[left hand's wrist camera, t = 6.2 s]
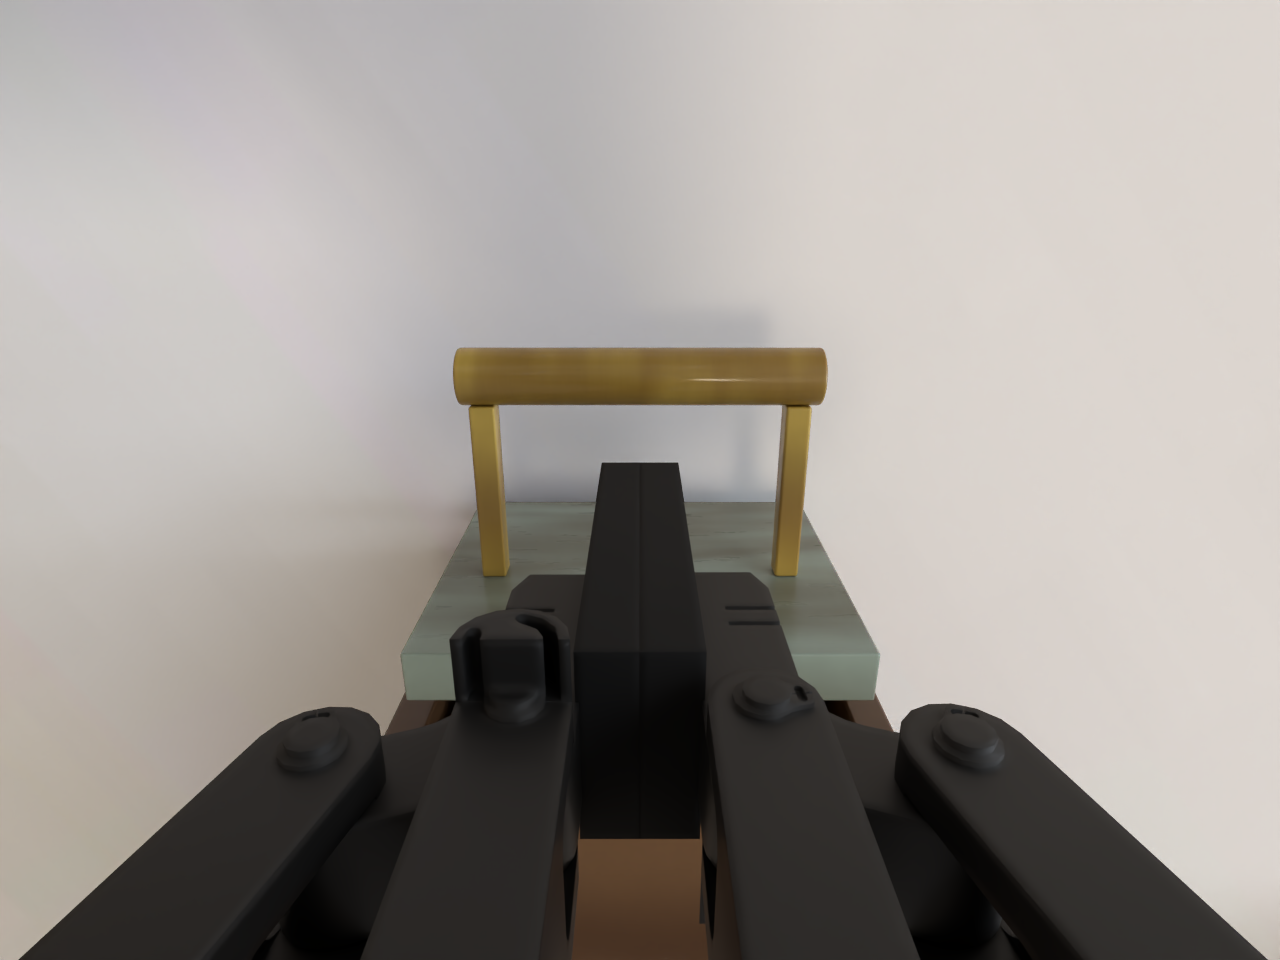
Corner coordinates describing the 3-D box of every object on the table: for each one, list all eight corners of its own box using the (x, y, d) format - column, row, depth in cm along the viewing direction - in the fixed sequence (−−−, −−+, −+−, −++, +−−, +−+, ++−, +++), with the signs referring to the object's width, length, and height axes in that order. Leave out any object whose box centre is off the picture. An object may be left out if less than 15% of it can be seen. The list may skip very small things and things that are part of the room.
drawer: (465, 317, 21) (362, 386, 13) (815, 317, 21) (918, 385, 13) (517, 933, 30) (473, 1191, 22) (763, 933, 30) (806, 1191, 22)
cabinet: (473, 548, 25) (368, 765, 15) (807, 548, 25) (911, 766, 15) (511, 966, 32) (456, 1292, 23) (769, 967, 32) (824, 1292, 23)
